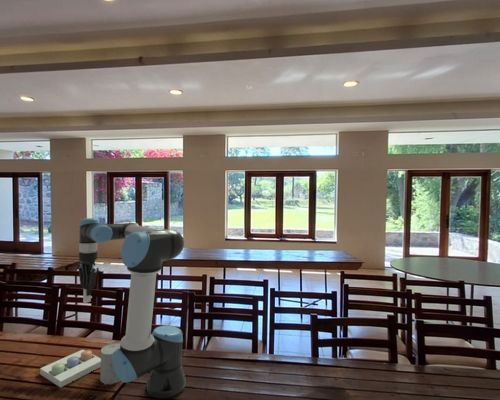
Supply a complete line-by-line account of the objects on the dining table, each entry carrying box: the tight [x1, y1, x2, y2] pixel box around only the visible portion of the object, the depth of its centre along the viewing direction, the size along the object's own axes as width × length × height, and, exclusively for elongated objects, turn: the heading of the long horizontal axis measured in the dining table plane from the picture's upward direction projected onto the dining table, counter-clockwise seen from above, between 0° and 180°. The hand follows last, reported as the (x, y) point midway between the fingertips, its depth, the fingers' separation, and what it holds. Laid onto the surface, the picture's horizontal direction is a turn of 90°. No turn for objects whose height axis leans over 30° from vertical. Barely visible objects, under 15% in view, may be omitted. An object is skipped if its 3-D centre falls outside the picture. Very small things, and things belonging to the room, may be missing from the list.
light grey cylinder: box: [99, 342, 122, 385], centre depth 122 cm, size 10×10×12 cm
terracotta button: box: [81, 349, 93, 362], centre depth 131 cm, size 4×4×4 cm
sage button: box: [52, 363, 64, 376], centre depth 121 cm, size 4×4×4 cm
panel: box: [39, 349, 101, 388], centre depth 126 cm, size 16×18×2 cm
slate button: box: [67, 356, 79, 369], centre depth 126 cm, size 4×4×4 cm
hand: (87, 301), depth 134 cm, fingers closed
